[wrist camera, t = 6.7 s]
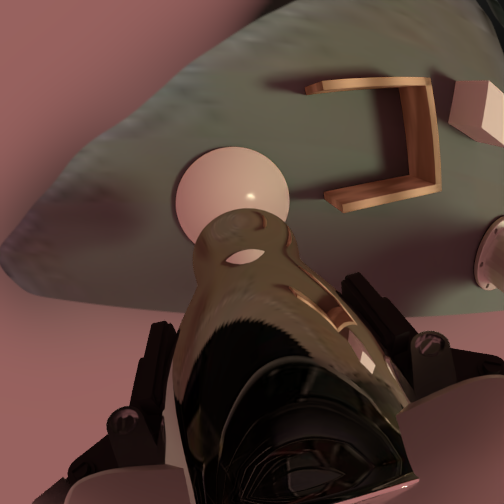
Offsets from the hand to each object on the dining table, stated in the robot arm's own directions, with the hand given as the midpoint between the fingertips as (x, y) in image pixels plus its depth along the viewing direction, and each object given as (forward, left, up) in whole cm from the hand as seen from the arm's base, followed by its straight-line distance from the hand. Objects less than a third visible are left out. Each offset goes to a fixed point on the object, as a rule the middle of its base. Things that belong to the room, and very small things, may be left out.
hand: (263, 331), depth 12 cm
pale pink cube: (-31, -6, -20) cm, 38 cm away
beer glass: (0, 0, -7) cm, 7 cm away
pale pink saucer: (0, 0, -20) cm, 20 cm away
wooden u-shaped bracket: (-15, -4, -20) cm, 25 cm away
